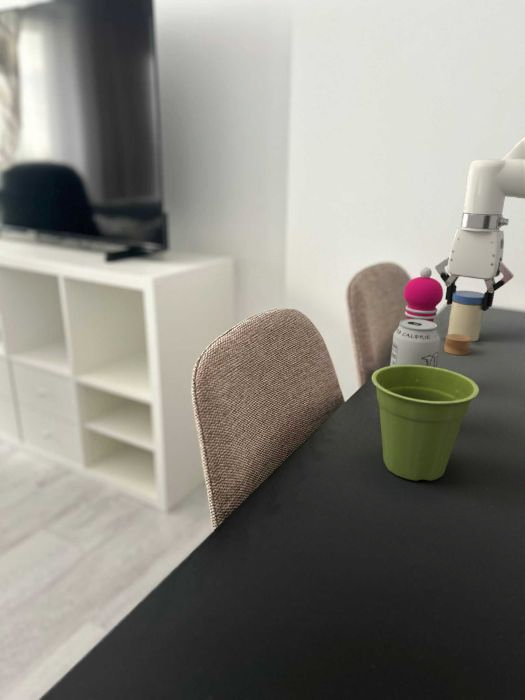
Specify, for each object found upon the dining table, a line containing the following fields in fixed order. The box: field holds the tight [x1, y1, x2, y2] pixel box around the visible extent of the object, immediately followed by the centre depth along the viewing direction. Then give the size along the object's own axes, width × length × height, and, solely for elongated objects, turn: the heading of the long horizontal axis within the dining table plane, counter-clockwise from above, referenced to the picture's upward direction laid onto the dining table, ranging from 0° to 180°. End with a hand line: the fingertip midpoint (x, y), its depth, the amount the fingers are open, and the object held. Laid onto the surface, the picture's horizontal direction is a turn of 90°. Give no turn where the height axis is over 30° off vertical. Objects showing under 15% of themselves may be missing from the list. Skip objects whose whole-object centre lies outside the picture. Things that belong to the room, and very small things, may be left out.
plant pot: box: [371, 365, 480, 482], centre depth 61 cm, size 12×12×11 cm
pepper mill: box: [403, 266, 444, 368], centre depth 84 cm, size 7×7×20 cm
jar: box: [446, 300, 484, 342], centre depth 112 cm, size 7×7×9 cm
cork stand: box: [443, 334, 472, 356], centre depth 104 cm, size 5×5×3 cm
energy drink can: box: [389, 318, 441, 368], centre depth 71 cm, size 6×6×15 cm
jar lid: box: [452, 290, 484, 305], centre depth 111 cm, size 7×7×2 cm
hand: (467, 306), depth 112 cm, fingers closed on jar lid, 6 cm apart
